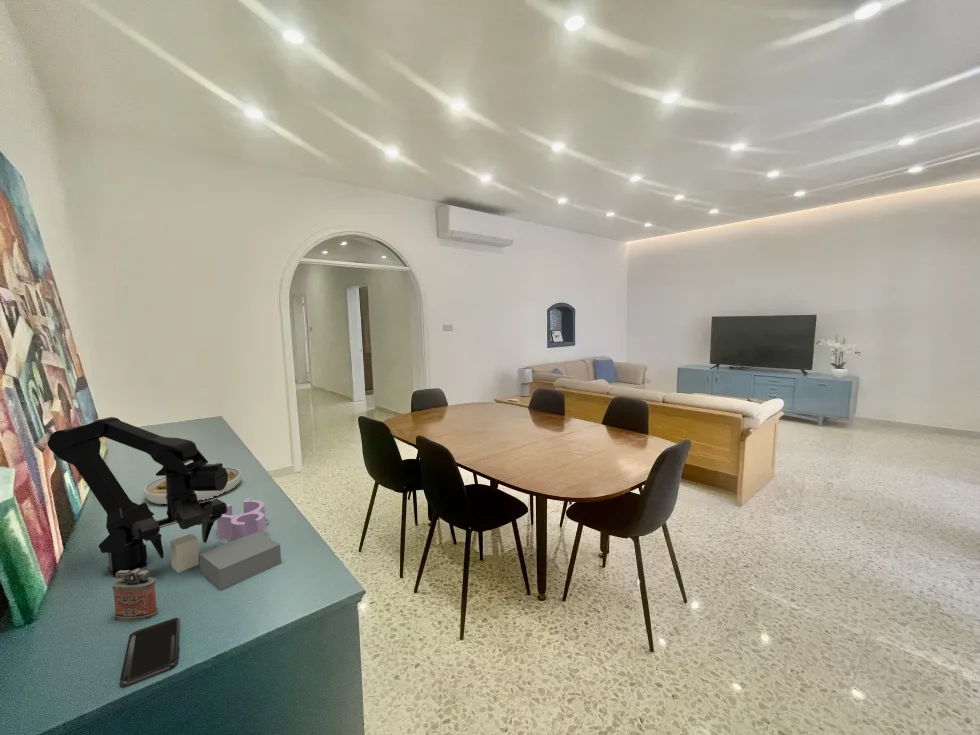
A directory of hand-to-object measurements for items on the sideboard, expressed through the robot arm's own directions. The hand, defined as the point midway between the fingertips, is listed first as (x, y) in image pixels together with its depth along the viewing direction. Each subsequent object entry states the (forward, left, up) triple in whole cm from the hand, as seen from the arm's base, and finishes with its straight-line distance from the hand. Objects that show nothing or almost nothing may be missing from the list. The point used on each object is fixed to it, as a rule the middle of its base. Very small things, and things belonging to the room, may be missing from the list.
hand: (184, 549), depth 103 cm
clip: (+17, +7, -5) cm, 19 cm away
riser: (+8, -13, -4) cm, 16 cm away
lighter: (-13, -14, -4) cm, 20 cm away
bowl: (+21, +57, -5) cm, 61 cm away
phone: (-14, -29, -5) cm, 33 cm away
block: (0, 0, -4) cm, 4 cm away
